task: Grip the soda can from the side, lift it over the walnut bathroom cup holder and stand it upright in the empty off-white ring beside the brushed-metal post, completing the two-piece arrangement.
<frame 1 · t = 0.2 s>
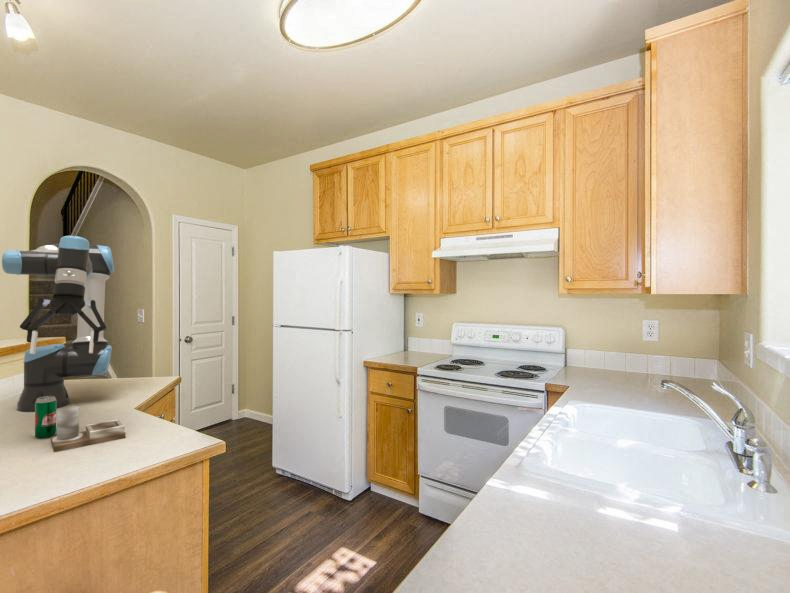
hand: (62, 353, 120), 27 cm above the worktop, tool tilted 15°, fingers open, 13 cm apart
bathroom cup holder: (88, 439, 123), on the worktop
soda can: (45, 436, 125), on the worktop
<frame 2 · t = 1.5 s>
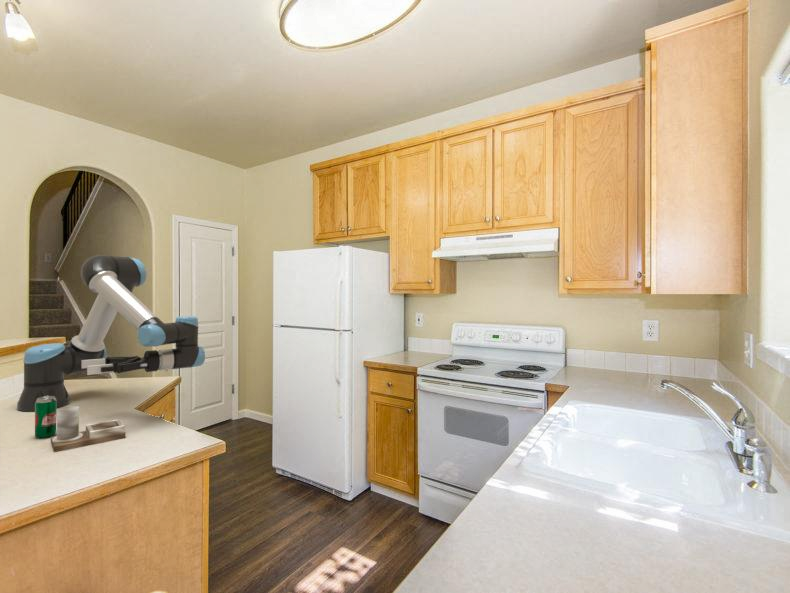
hand: (84, 367, 131), 20 cm above the worktop, tool horizontal, fingers open, 13 cm apart
nothing on the worktop moved.
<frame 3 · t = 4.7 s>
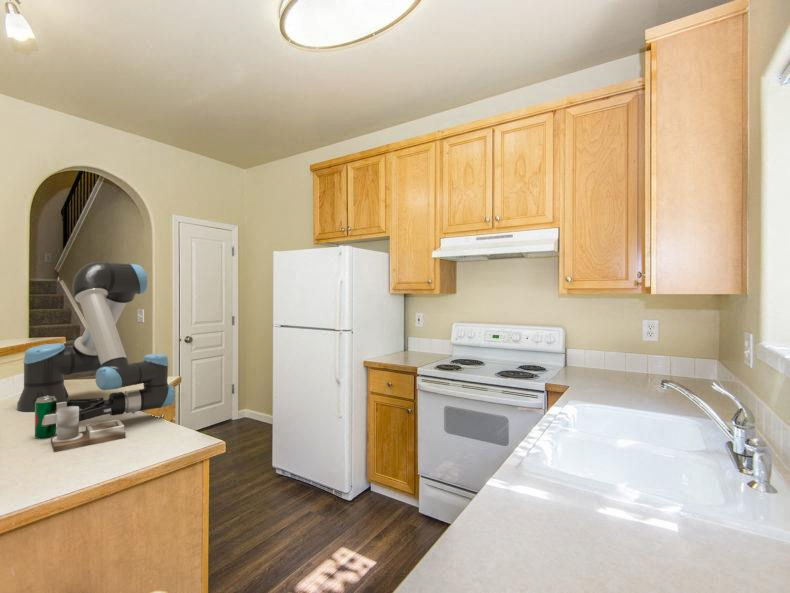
hand: (42, 414, 124), 7 cm above the worktop, tool horizontal, fingers open, 13 cm apart
nothing on the worktop moved.
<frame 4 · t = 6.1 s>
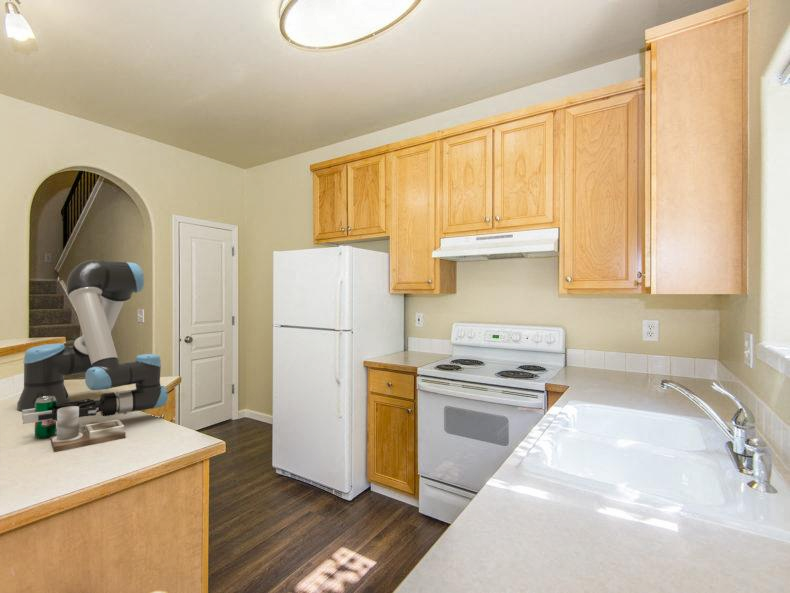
hand: (22, 417, 121), 7 cm above the worktop, tool horizontal, fingers closed on soda can, 5 cm apart
soda can: (45, 436, 125), on the worktop, touching gripper
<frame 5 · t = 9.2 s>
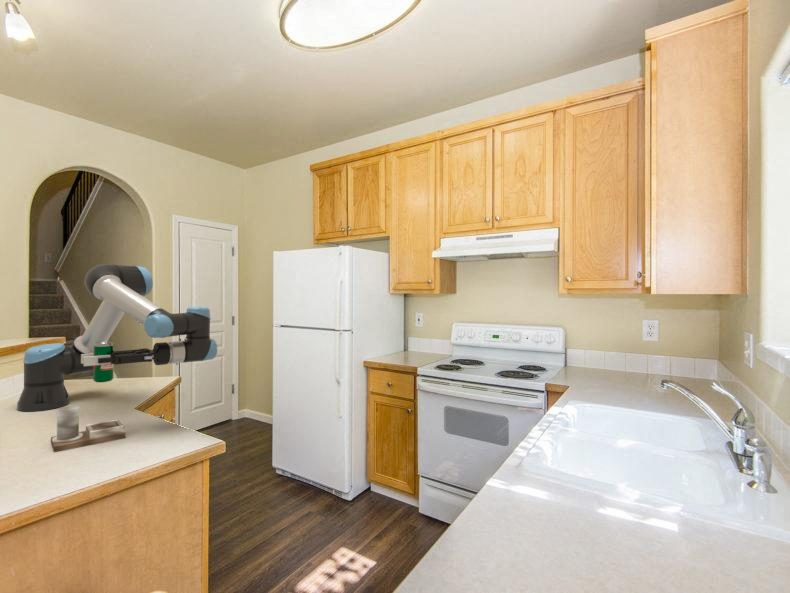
hand: (82, 360, 121), 24 cm above the worktop, tool horizontal, fingers closed on soda can, 5 cm apart
soda can: (103, 381, 125), point 17 cm above the worktop, touching gripper
when the fingers open (10 cm above the worktop, at t = 12.2 s): soda can drops 1 cm, resting on bathroom cup holder.
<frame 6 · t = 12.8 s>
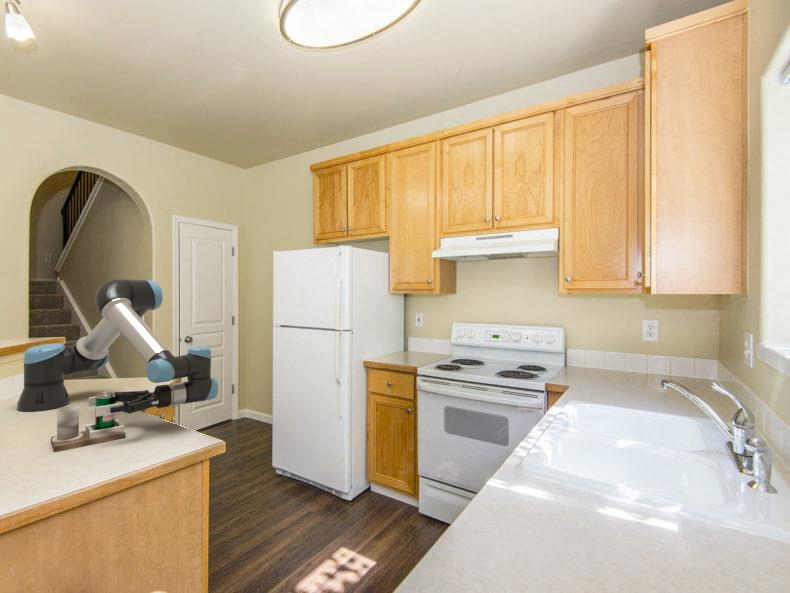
hand: (92, 406, 123), 10 cm above the worktop, tool horizontal, fingers open, 13 cm apart
soda can: (105, 432, 125), point 1 cm above the worktop, touching bathroom cup holder
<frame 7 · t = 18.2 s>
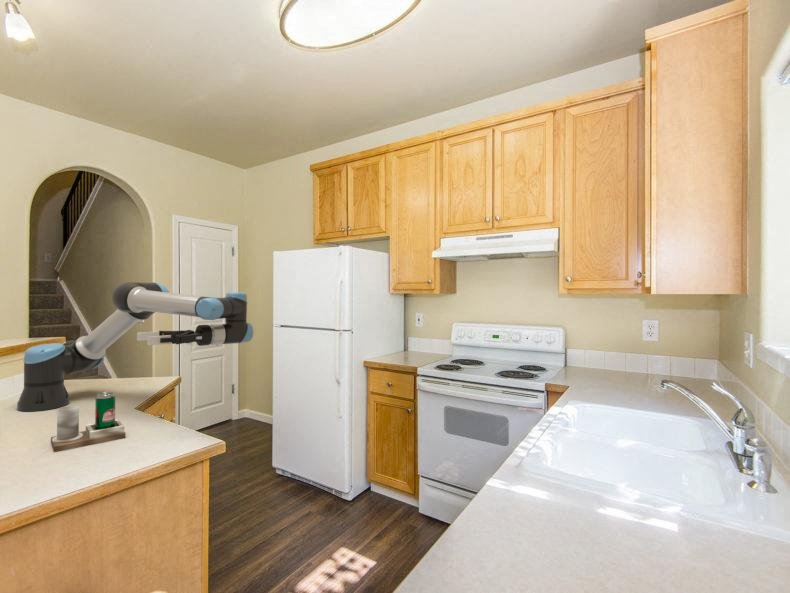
hand: (142, 338, 132), 30 cm above the worktop, tool horizontal, fingers open, 13 cm apart
nothing on the worktop moved.
at the end: soda can 0.0 cm from the target spot on the bathroom cup holder, point 1.3 cm above the bathroom cup holder's base; soda can tilted 0°; soda can touching bathroom cup holder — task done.
